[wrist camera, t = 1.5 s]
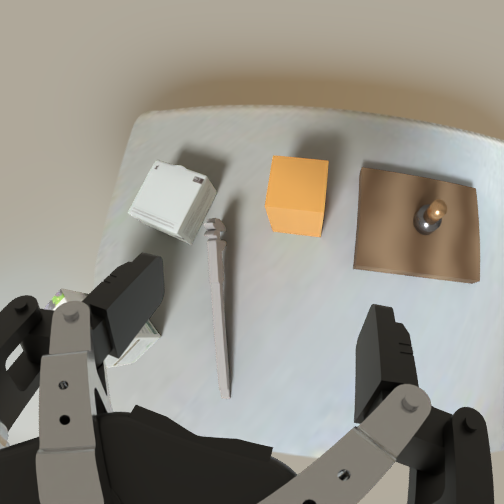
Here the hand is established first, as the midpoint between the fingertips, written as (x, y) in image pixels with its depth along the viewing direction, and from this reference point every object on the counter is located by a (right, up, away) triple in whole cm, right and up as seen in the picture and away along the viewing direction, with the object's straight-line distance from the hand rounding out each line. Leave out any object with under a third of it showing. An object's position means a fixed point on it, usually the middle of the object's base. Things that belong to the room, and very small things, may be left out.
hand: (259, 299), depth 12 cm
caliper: (-4, -5, +25) cm, 26 cm away
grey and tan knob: (+20, +5, +21) cm, 29 cm away
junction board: (+20, +5, +23) cm, 31 cm away
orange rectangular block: (+5, +7, +26) cm, 27 cm away
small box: (-10, +7, +29) cm, 31 cm away
